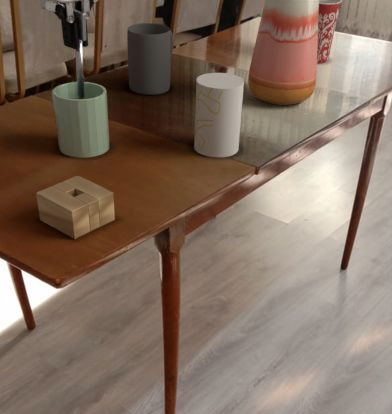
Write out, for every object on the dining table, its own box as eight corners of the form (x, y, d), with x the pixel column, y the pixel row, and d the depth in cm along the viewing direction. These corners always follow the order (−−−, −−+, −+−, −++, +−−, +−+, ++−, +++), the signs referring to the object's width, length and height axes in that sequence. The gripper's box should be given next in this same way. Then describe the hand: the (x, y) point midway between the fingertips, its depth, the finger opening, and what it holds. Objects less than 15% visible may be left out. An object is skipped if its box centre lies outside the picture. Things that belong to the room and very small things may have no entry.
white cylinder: (186, 142, 116) (188, 76, 108) (224, 136, 119) (229, 70, 111) (207, 160, 111) (210, 91, 103) (246, 152, 114) (252, 85, 106)
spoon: (84, 102, 107) (81, 14, 97) (72, 96, 108) (68, 9, 98) (89, 100, 108) (87, 13, 98) (77, 95, 109) (74, 8, 99)
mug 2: (337, 57, 159) (347, -3, 150) (324, 67, 153) (333, 5, 144) (291, 48, 164) (299, -10, 155) (276, 57, 158) (283, -4, 149)
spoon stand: (74, 239, 90) (71, 211, 87) (39, 220, 93) (35, 192, 91) (115, 219, 94) (113, 192, 91) (80, 202, 98) (77, 175, 95)
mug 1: (155, 98, 133) (155, 37, 125) (120, 89, 136) (118, 29, 129) (188, 81, 142) (190, 23, 134) (155, 73, 145) (154, 16, 138)
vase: (325, 98, 137) (352, -63, 117) (289, 115, 128) (312, -54, 109) (270, 82, 144) (287, -73, 124) (233, 97, 135) (245, -66, 115)
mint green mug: (119, 147, 114) (117, 91, 107) (82, 162, 109) (76, 104, 102) (76, 128, 120) (71, 74, 113) (38, 142, 114) (30, 85, 108)
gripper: (37, -83, 84) (53, 61, 96) (121, -92, 93) (126, 41, 105) (3, -90, 87) (23, 50, 100) (87, -98, 96) (96, 32, 109)
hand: (76, 45), depth 102 cm, fingers closed on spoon, 1 cm apart
